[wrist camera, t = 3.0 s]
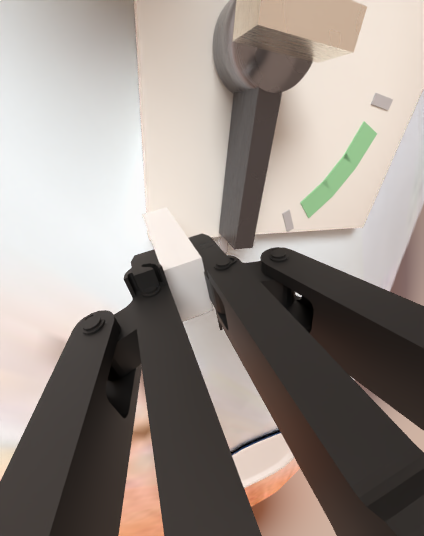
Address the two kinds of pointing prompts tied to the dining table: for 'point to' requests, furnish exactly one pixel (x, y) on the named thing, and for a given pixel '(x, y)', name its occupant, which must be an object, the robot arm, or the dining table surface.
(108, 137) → the dining table surface
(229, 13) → the dark grey lever
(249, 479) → the plate
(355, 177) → the gauge board
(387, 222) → the dining table surface
